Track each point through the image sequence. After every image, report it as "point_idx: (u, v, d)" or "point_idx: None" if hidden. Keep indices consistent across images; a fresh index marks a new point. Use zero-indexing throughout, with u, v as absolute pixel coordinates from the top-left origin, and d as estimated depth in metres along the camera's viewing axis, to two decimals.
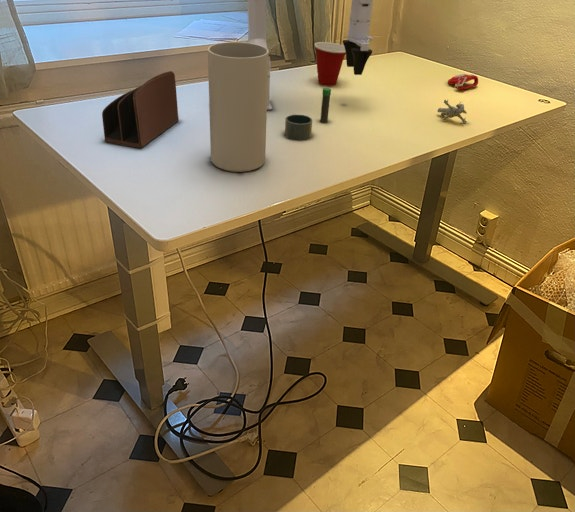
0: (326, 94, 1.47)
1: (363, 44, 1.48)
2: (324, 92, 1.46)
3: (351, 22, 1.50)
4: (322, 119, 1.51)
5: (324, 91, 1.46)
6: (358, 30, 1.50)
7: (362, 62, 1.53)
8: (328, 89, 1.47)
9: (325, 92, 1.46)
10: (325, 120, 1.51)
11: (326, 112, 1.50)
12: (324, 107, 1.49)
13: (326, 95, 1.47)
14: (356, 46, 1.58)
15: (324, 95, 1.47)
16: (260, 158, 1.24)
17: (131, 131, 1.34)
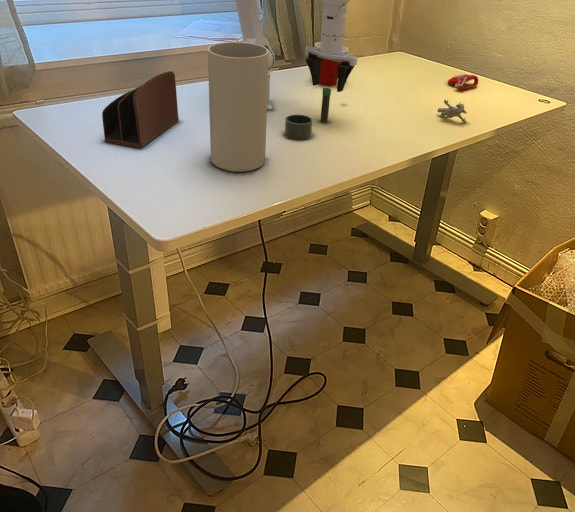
0: (326, 94, 1.47)
1: (354, 59, 1.38)
2: (324, 92, 1.46)
3: (330, 38, 1.37)
4: (322, 119, 1.51)
5: (324, 91, 1.46)
6: (338, 45, 1.38)
7: (344, 77, 1.44)
8: (328, 89, 1.47)
9: (325, 92, 1.46)
10: (325, 120, 1.51)
11: (326, 112, 1.50)
12: (324, 107, 1.49)
13: (326, 95, 1.47)
14: (319, 62, 1.46)
15: (324, 95, 1.47)
16: (260, 158, 1.24)
17: (131, 131, 1.34)
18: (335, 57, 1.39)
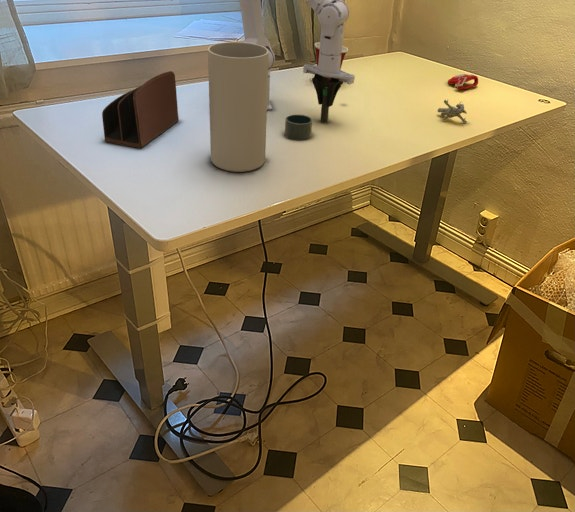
0: (326, 94, 1.47)
1: (351, 77, 1.41)
2: (324, 92, 1.46)
3: (327, 57, 1.40)
4: (322, 119, 1.51)
5: (324, 91, 1.46)
6: (336, 63, 1.41)
7: (333, 93, 1.47)
8: None
9: (325, 92, 1.46)
10: (325, 120, 1.51)
11: (326, 112, 1.50)
12: (324, 107, 1.49)
13: (326, 95, 1.47)
14: (325, 81, 1.47)
15: (324, 95, 1.47)
16: (260, 158, 1.24)
17: (131, 131, 1.34)
18: (333, 75, 1.41)
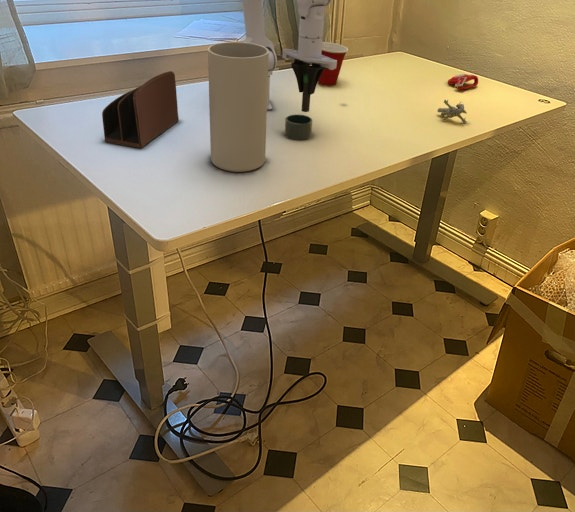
0: (307, 81, 1.36)
1: (333, 62, 1.30)
2: (305, 79, 1.36)
3: (307, 40, 1.29)
4: (303, 108, 1.41)
5: (305, 78, 1.36)
6: (316, 47, 1.31)
7: (315, 79, 1.37)
8: None
9: (306, 79, 1.36)
10: (307, 109, 1.41)
11: (307, 101, 1.39)
12: (305, 95, 1.39)
13: (307, 82, 1.37)
14: (306, 67, 1.37)
15: (305, 82, 1.37)
16: (260, 158, 1.24)
17: (131, 131, 1.34)
18: (313, 60, 1.31)
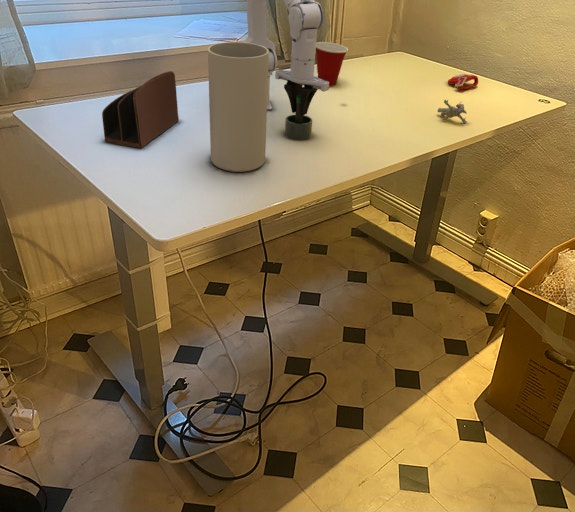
0: (299, 102, 1.37)
1: (325, 84, 1.31)
2: (297, 99, 1.37)
3: (299, 62, 1.30)
4: None
5: (297, 98, 1.37)
6: (309, 69, 1.31)
7: (308, 100, 1.38)
8: None
9: (298, 99, 1.37)
10: None
11: (300, 121, 1.40)
12: (298, 115, 1.39)
13: (299, 103, 1.37)
14: (299, 88, 1.38)
15: (297, 103, 1.38)
16: (260, 158, 1.24)
17: (131, 131, 1.34)
18: (305, 82, 1.32)
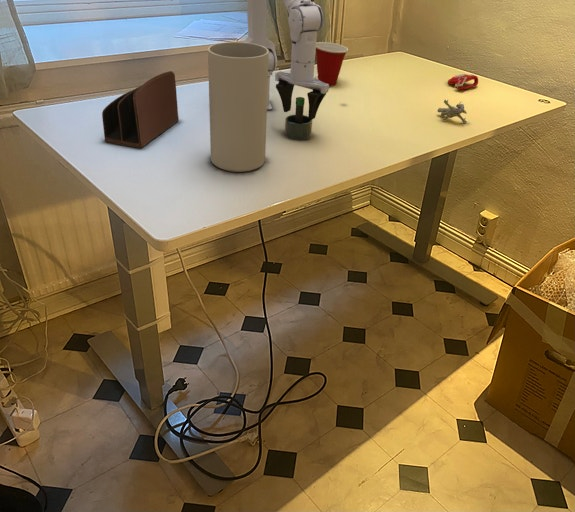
0: (299, 104, 1.37)
1: (325, 86, 1.31)
2: (297, 102, 1.37)
3: (299, 65, 1.30)
4: None
5: (297, 101, 1.37)
6: (308, 71, 1.32)
7: (316, 104, 1.37)
8: (301, 98, 1.37)
9: (298, 102, 1.37)
10: None
11: (300, 123, 1.40)
12: (298, 117, 1.40)
13: (299, 105, 1.38)
14: (290, 88, 1.39)
15: (297, 105, 1.38)
16: (260, 158, 1.24)
17: (131, 131, 1.34)
18: (305, 84, 1.32)
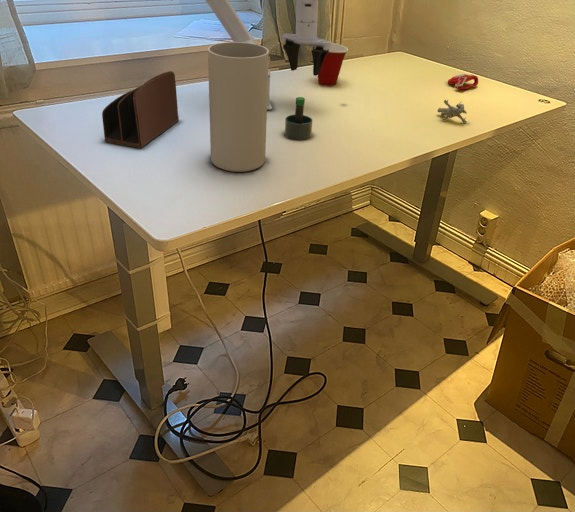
0: (299, 104, 1.37)
1: (327, 43, 1.46)
2: (297, 102, 1.37)
3: (303, 24, 1.45)
4: None
5: (297, 101, 1.37)
6: (312, 30, 1.46)
7: (320, 61, 1.51)
8: (301, 98, 1.37)
9: (298, 102, 1.37)
10: None
11: (300, 123, 1.40)
12: (298, 117, 1.40)
13: (299, 105, 1.38)
14: (296, 48, 1.54)
15: (297, 105, 1.38)
16: (260, 158, 1.24)
17: (131, 131, 1.34)
18: (309, 42, 1.47)
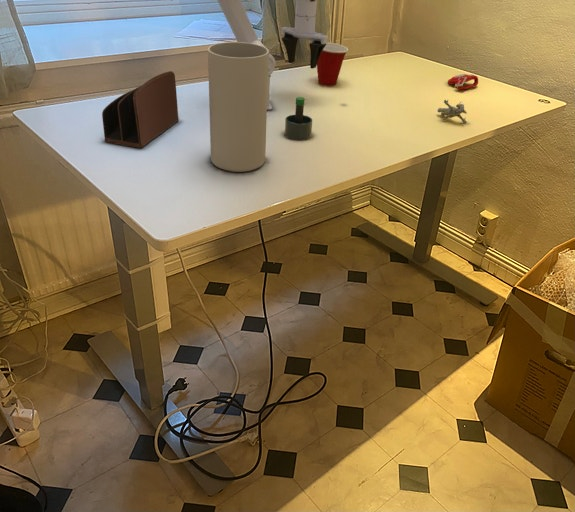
0: (299, 104, 1.37)
1: (325, 37, 1.52)
2: (297, 102, 1.37)
3: (302, 18, 1.51)
4: None
5: (297, 101, 1.37)
6: (310, 25, 1.53)
7: (317, 55, 1.58)
8: (301, 98, 1.37)
9: (298, 102, 1.37)
10: None
11: (300, 123, 1.40)
12: (298, 117, 1.40)
13: (299, 105, 1.38)
14: (294, 41, 1.60)
15: (297, 105, 1.38)
16: (260, 158, 1.24)
17: (131, 131, 1.34)
18: (308, 36, 1.53)
